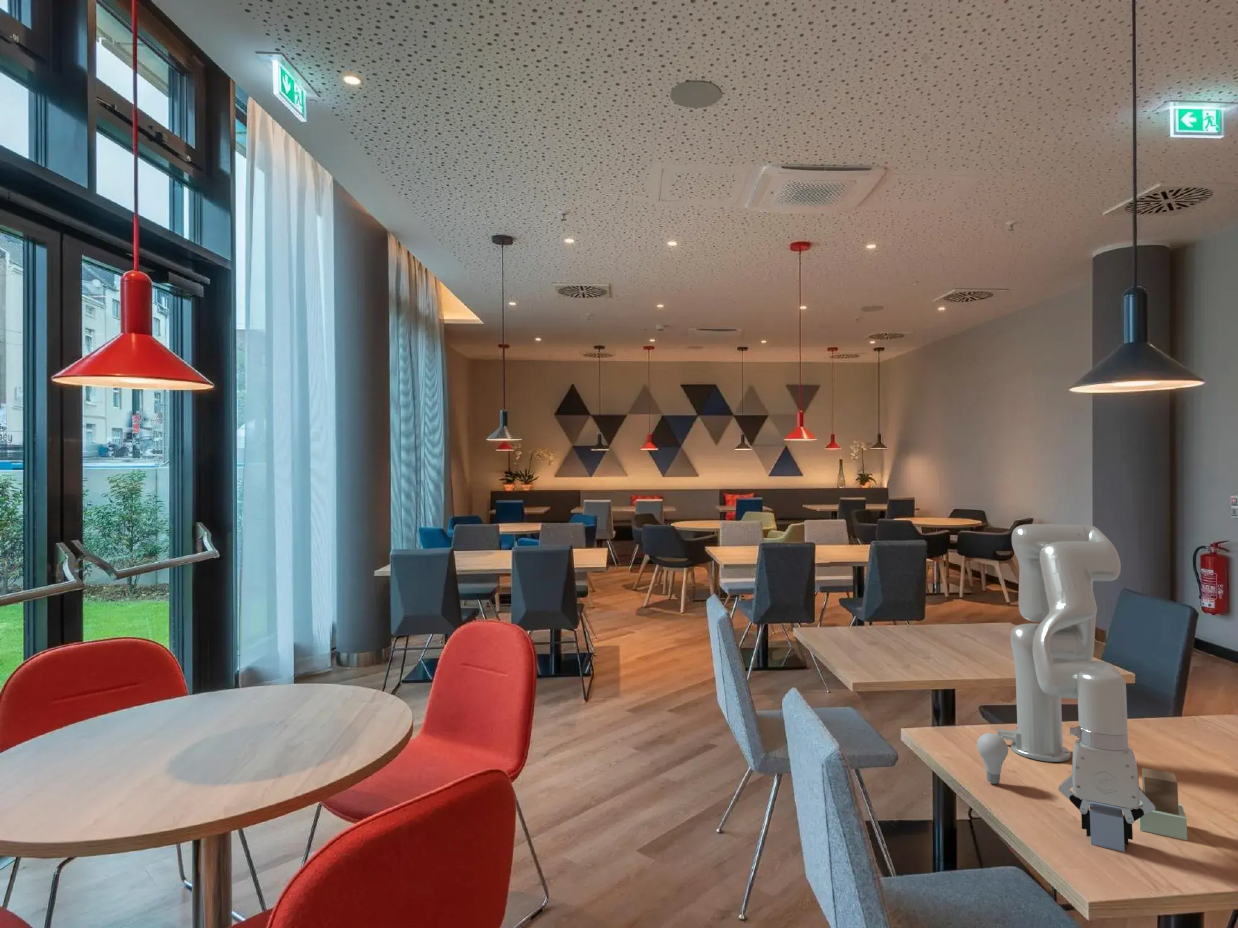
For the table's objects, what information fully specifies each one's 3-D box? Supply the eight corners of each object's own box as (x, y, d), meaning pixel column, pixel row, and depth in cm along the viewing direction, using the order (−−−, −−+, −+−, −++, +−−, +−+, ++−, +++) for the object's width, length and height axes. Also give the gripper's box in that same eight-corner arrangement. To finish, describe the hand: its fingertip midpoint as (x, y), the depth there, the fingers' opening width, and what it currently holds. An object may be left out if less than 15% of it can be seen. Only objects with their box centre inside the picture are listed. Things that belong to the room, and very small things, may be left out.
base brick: (1140, 830, 131) (1139, 809, 131) (1137, 815, 137) (1136, 795, 137) (1187, 840, 127) (1186, 818, 127) (1182, 824, 133) (1181, 803, 133)
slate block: (1091, 844, 126) (1089, 811, 126) (1090, 832, 130) (1089, 800, 131) (1124, 851, 123) (1123, 818, 124) (1123, 839, 128) (1121, 807, 128)
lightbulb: (1006, 779, 154) (1004, 730, 154) (1012, 791, 148) (1010, 739, 149) (976, 776, 156) (974, 727, 156) (980, 787, 150) (979, 736, 151)
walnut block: (1145, 808, 132) (1144, 776, 132) (1143, 798, 136) (1141, 767, 136) (1178, 814, 129) (1177, 782, 129) (1175, 804, 133) (1174, 773, 133)
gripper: (1048, 735, 129) (1052, 833, 129) (1163, 754, 120) (1167, 860, 119) (1049, 724, 135) (1053, 817, 135) (1158, 740, 126) (1163, 841, 125)
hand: (1106, 836), depth 127 cm, fingers closed on slate block, 5 cm apart
